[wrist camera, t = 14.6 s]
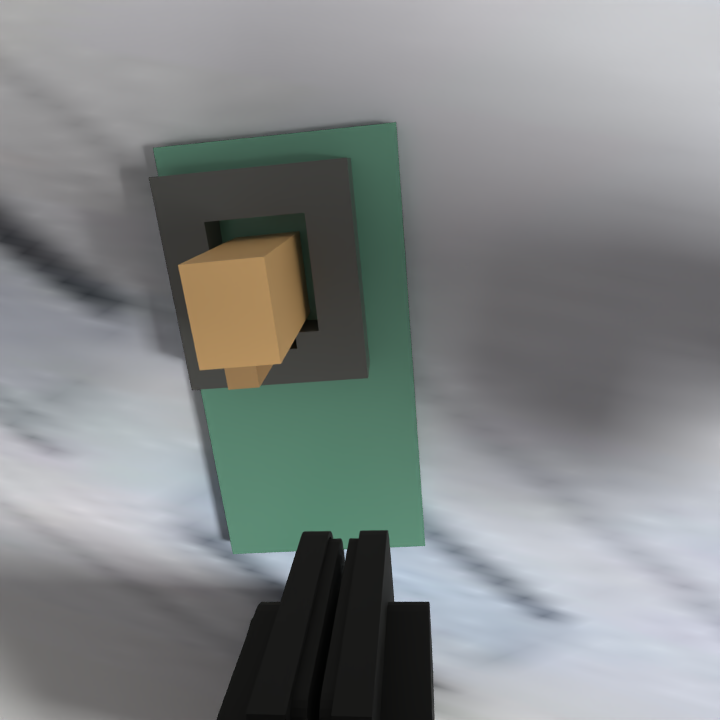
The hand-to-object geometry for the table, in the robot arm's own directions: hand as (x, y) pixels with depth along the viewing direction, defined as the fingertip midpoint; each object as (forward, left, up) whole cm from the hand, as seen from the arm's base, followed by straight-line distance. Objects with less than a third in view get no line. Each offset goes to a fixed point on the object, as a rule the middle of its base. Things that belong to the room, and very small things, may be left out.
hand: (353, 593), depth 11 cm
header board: (+5, +3, -24) cm, 25 cm away
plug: (+6, -2, -23) cm, 24 cm away
